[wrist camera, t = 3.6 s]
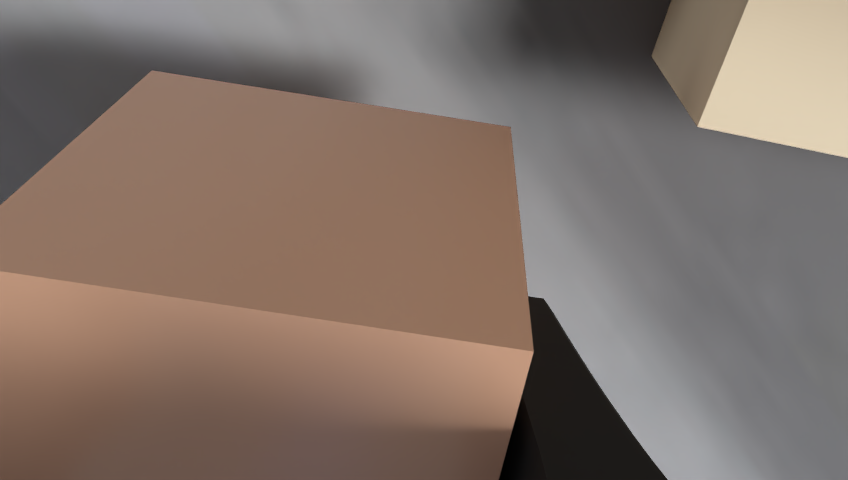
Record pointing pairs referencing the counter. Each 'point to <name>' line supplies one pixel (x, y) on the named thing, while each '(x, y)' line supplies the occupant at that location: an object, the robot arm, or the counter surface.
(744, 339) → the counter surface
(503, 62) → the counter surface
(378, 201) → the terracotta cube
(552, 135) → the counter surface
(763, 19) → the oak block
